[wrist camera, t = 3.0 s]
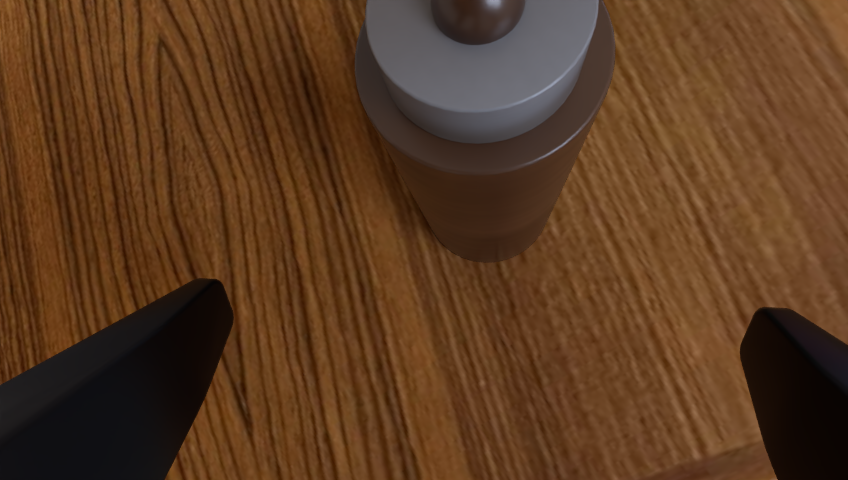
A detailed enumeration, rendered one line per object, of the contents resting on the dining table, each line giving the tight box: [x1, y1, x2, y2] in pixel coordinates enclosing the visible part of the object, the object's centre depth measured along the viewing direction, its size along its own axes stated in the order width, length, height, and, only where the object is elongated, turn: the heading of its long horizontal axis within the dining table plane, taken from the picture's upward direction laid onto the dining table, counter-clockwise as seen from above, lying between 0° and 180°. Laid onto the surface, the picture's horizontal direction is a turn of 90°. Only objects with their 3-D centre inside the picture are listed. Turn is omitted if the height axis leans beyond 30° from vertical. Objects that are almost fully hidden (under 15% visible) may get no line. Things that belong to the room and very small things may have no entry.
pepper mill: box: [355, 0, 615, 262], centre depth 14 cm, size 5×5×14 cm
